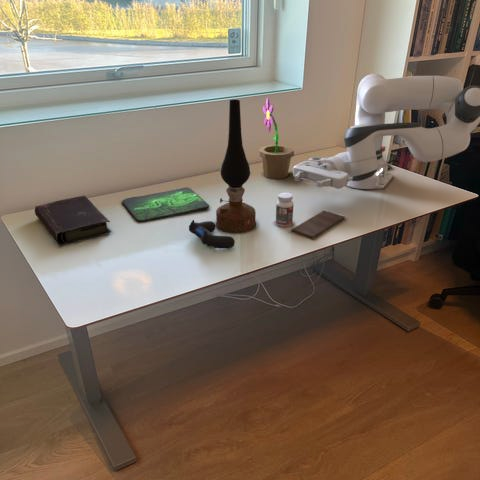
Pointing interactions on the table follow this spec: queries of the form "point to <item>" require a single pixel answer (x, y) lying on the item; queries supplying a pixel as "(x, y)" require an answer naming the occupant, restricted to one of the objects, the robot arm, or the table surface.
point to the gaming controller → (210, 235)
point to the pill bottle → (284, 209)
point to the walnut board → (318, 224)
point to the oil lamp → (235, 180)
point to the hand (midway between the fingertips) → (307, 181)
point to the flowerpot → (274, 151)
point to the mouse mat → (164, 204)
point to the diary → (72, 220)
